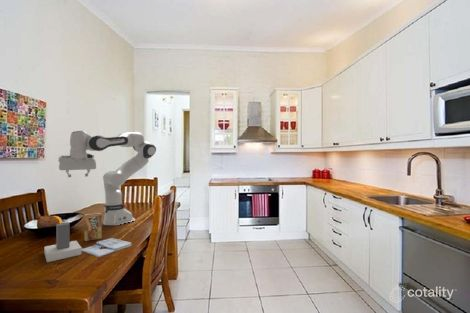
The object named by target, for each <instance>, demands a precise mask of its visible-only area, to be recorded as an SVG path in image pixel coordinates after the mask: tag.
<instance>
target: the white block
mask: <svg viewBox="0 0 470 313" xmlns="http://www.w3.org/2000/svg"><path fill="white" fill-rule="evenodd" d="M43 249H44V250H43V253H44V256H45V257H44V258H45V259H46V260H45V261H46V263H50V262H54V261H58V260H62V259H68V258H71V257H72V258H73V257H77V256H81V255H82V251H81V249H82V246H81V245H80V244H79V242H78V240H71V241H70V247H69V248H64V249H59V250H57V248H56V244H52V245H46V246H44V248H43Z"/></svg>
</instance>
